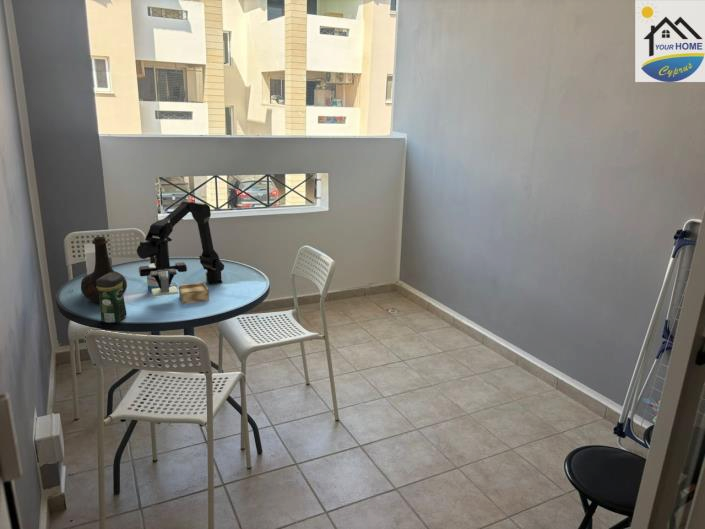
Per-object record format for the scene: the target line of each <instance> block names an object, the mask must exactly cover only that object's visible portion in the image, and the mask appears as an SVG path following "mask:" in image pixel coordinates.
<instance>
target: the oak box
mask: <svg viewBox="0 0 705 529" xmlns="http://www.w3.org/2000/svg"><path fill="white" fill-rule="evenodd" d="M178 293H179V298H180V301H181V302H182V304H183V305H185V304H186V305H187V304H193V303H199V302H208V301H210V290H209V288H208V286H207V284H206V283H205V282H195V283H187V284H179V285H178Z"/></svg>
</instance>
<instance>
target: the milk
mask: <svg viewBox="0 0 705 529" xmlns="http://www.w3.org/2000/svg"><path fill="white" fill-rule="evenodd" d="M83 246H84V258H85V266H86V274H87V275H89V274H91V273H93V272H94V269H95V244H92V243H86V244H85V243H84V244H83Z"/></svg>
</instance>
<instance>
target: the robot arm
mask: <svg viewBox="0 0 705 529" xmlns="http://www.w3.org/2000/svg"><path fill="white" fill-rule="evenodd" d="M189 213H190V214H191V216H192V218H193V219H194V221H195V222H196V224H197V228H198V232H199V238H200V244H201V249H202V252H201V254H200V255H198V257H199V261H200V263H199V264H201V266H202V268H203V270H206V272H205V281H206V282H207V283H208V284H209V285H213V284H220V283H223V280H222V272H223V271H224V269H225V264H224V263H223V262H222V261H221V259H220V256H219V254H218V253H217V252H216V251H215V249H214V244H213V238H212V233H211V229H210V228H211V227H210V223H209V222H210V218H211V216H212V215H211V213H212V212H211V207H210V205H209V204H208V203H203V202H202V203H200V202H193V201H188V200H187V201H186V200H183V201H181V203H180V204H179V205H177V207H176V208H174V209H173V210H172V211H171V212H170V213H169V214H168V215H167V216H165V217H164V218H161V219H159V220H156V221H155V222H153V223H152V224H151V225H150V226H149V229H148V232H147V235H146V237H145V239H144V240H145V241H140V242H139V245H138V246H137V249H136V253H137V256H138V257H139V258H140V259H142V260H145V259H149V265H150V264H153V263H154V264H155V266H156V267H155V268H149V266H148V265H144V266H143V265H142V266H141V265H140V266H139V267H138V274H139V276H140V277H147V276H149V275H151V277H154V278H155V279H156V281H157V283H158V285H159V287H160V289H161V284H160V279H159V275H158V272H160V271H166V272H167V278H168V281H169V287H171V284H172V281H173V278H175V277H174V276H176V275H177V271H178V273H184V272H185V273H186V272H187V271H188V267H187V264H186V263H185V262H184V261H181V262H175V264H174V265H171V264H170V263H171V261H170V249H169V242H172V240H173V239H172V238H171V237H169V236H170V235H171V234H172V233H173V229H174V227H175V226H176V225H177V224H178V223H179V222H180V221H181V220H183V218H184V217H186V216H187V215H188V214H189ZM158 269H159V270H158Z"/></svg>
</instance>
